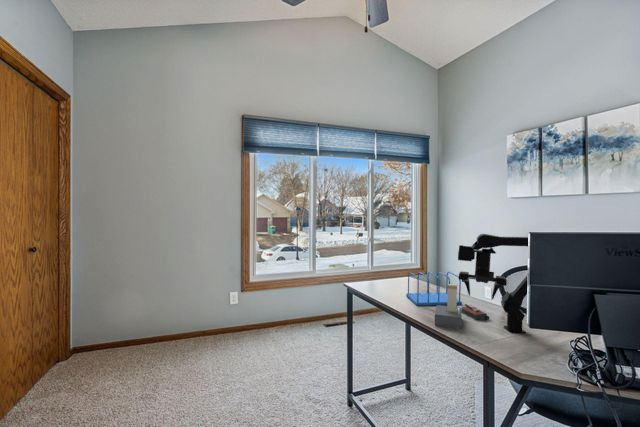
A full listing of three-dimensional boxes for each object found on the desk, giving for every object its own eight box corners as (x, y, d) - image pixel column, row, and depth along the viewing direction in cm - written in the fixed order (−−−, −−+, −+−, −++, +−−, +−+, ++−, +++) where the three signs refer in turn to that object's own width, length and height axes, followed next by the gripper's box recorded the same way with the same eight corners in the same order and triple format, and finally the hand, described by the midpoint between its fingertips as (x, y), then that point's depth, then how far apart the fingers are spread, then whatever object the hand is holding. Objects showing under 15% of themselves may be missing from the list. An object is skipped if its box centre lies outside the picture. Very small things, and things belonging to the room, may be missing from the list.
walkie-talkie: (493, 320, 152) (466, 307, 172) (493, 311, 152) (466, 298, 172) (477, 321, 151) (451, 308, 170) (477, 312, 150) (451, 299, 170)
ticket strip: (456, 313, 149) (457, 284, 149) (456, 314, 148) (457, 285, 147) (447, 312, 151) (447, 283, 150) (447, 312, 149) (447, 284, 149)
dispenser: (461, 318, 154) (461, 306, 154) (461, 328, 141) (461, 315, 141) (436, 315, 159) (436, 303, 158) (434, 325, 146) (434, 312, 145)
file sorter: (416, 306, 173) (416, 277, 172) (406, 296, 190) (406, 270, 189) (462, 305, 174) (462, 276, 173) (447, 295, 191) (447, 270, 191)
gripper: (458, 263, 140) (456, 298, 141) (508, 268, 132) (506, 306, 132) (460, 259, 150) (458, 292, 151) (506, 263, 142) (504, 299, 142)
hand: (480, 297), depth 144 cm, fingers open, 9 cm apart
